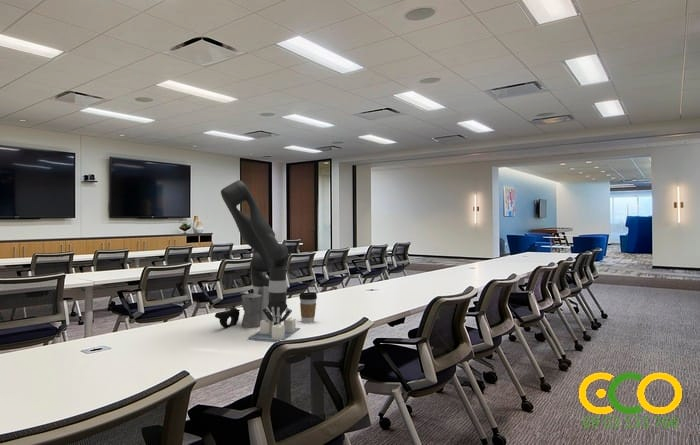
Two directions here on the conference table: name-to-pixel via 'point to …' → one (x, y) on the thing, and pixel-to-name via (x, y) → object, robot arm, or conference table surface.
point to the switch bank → (270, 336)
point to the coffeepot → (251, 310)
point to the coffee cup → (308, 306)
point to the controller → (226, 314)
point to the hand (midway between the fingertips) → (277, 331)
